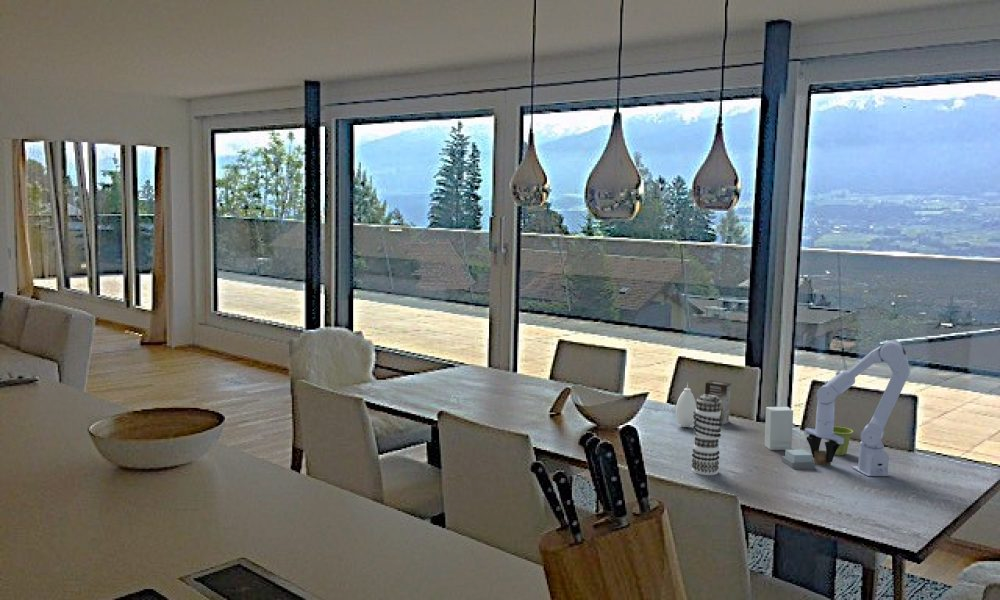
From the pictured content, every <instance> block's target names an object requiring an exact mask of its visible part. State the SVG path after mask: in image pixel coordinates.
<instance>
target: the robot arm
mask: <svg viewBox="0 0 1000 600" xmlns="http://www.w3.org/2000/svg"><path fill="white" fill-rule="evenodd" d="M907 354H908V353H907V350H906V348H905V347H904V345H903V344H902V343H901V342H900V341H898V340H896V339H891V340H887V341H885V343H884V344H883V345H882V344H880V346H877V347H876V348H874V349H872V351H870V352H869V353H867V354H866V355H865V356H864V357H863V358H861V359H860V360H859V361H858V362H857V363H855V364H854V366H852V367H851V368H850V369H842V370H837V372H835V375H834V376H833V377H832V378H831V379H829V380H825V382H824V384H823V385H821V386H820V388H819V389H818V390H817V391H816V399H817V403H816V404H817V405H816V412H815V413H816V414H815V428H809V427H806V428H804V432H803V433H804V435H808V436H806V441H807V442H808V445H809V447H810V452H811V454H812V455H813V459H814V451H820V446H821V442H822V439H823V440H826V441H824V444H825V451H826V462H828V463H829V462H831V463H832V462H833V460H834V457H835V456H836V455H835V453H836V451H837V449H838V447H839V446H840V445H841V444H844V438H842V437H840V436H837V435H835V434H834V432H833V428H834V425H835V411H836V407H835V402H836V398H837V397H838V396H840V395H842V394H843V393H844V392H845V391H847V390H848V389H850V388H851V387H852V386H854V385H855V383H856V377H858V376H859V375H861V374H862V373H864V372H865V371H866V370H868V368H870V367H871V366H873V365H874V364H881V363H882V364H883V362H885V363H886V364H887V365H888V367H889V369H890V372H892V375H891V377H890V379H889V381H888V384H887V386H886V387H885V390H884V392H883V394H882V396H881V398H880V400H879V402H878V405H877V406H876V409H875V411H874V413H873V415H872V417H871V420H870V421H869V423H867V424H866V425H865V426H864V427H863V430H862V431H861V432H860V436H859V437H860V440H861V441H860V442H859V450H858V465H855V466H854V465H853V466H852V468H853V469H854V470H856V471H858V472H859V473H861V474H864V475H865V476H867V477H890V476H891V474H890V473H889V462H890V461H889V460H890V459H889V458H890V457H889V455H888V453H887V451H886V450H885V449H884V448H885V446H884V445H885V444H884V443H883V442H882V439H883V438H884V436H885V426H886V424H887V422H888V420H889V417H890V415H891V414H892V411H893V409H894V408H895V405H896V403H897V401H898V399H899V396H900V395H901V393H902V391H903V388H904V386H905V384H906V382H907V380H908V379H909V378H908V377H909V376H910V374H911V368H910V364H909V359H908V355H907ZM827 440H829V442H827Z"/></svg>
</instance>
